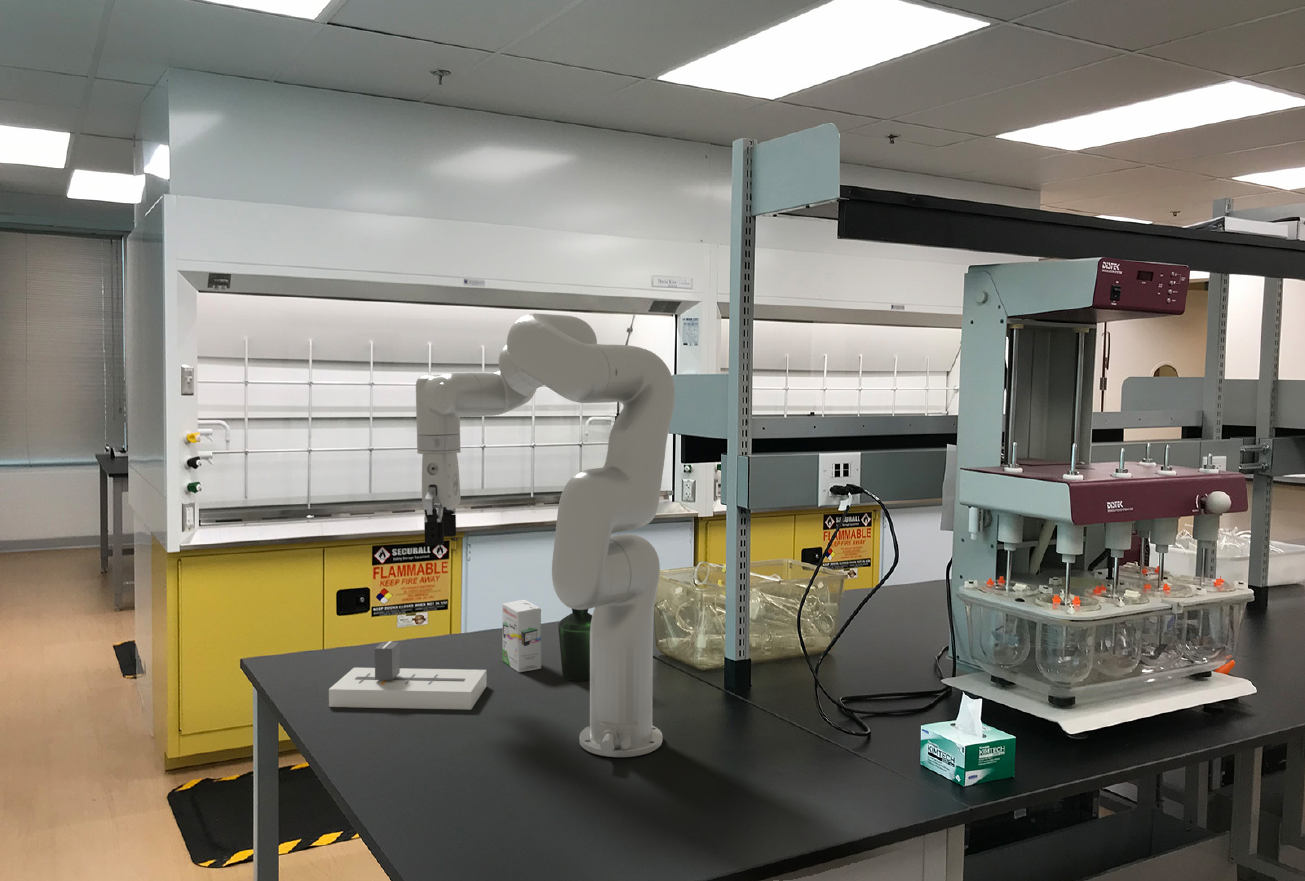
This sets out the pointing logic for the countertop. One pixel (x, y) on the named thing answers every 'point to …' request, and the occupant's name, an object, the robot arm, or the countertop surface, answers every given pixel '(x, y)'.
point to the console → (409, 689)
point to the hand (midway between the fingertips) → (441, 540)
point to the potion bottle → (575, 645)
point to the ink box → (522, 635)
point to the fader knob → (387, 661)
